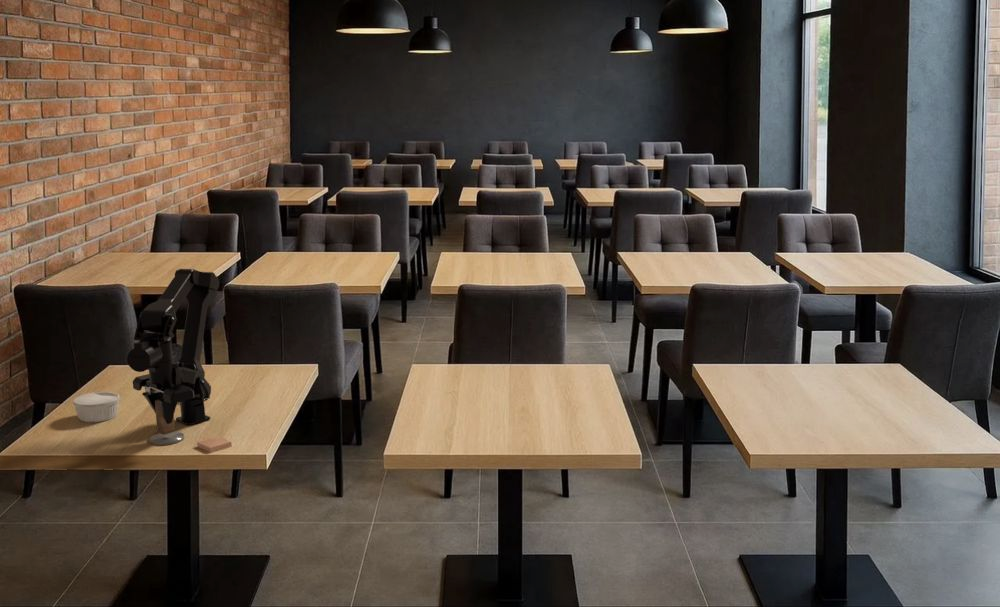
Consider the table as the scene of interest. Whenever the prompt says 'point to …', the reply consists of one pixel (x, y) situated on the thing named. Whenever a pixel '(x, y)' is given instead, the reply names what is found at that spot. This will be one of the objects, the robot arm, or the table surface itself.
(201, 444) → the tile
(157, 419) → the block
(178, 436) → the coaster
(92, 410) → the ramekin
